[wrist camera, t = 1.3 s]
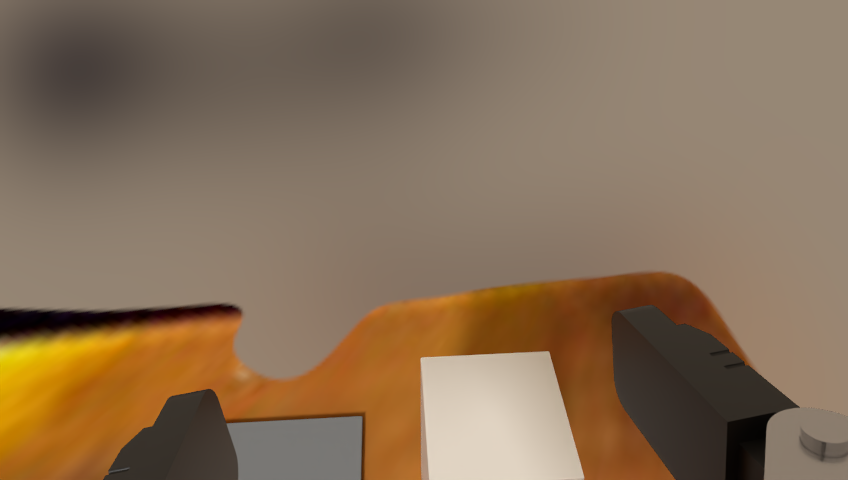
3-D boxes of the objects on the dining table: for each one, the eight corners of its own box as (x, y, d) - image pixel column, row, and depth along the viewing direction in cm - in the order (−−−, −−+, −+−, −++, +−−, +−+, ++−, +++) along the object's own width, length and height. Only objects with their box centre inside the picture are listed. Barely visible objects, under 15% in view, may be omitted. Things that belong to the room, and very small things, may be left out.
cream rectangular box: (542, 575, 31) (584, 478, 23) (427, 583, 31) (429, 487, 23) (520, 464, 36) (549, 351, 28) (421, 470, 35) (420, 357, 27)
